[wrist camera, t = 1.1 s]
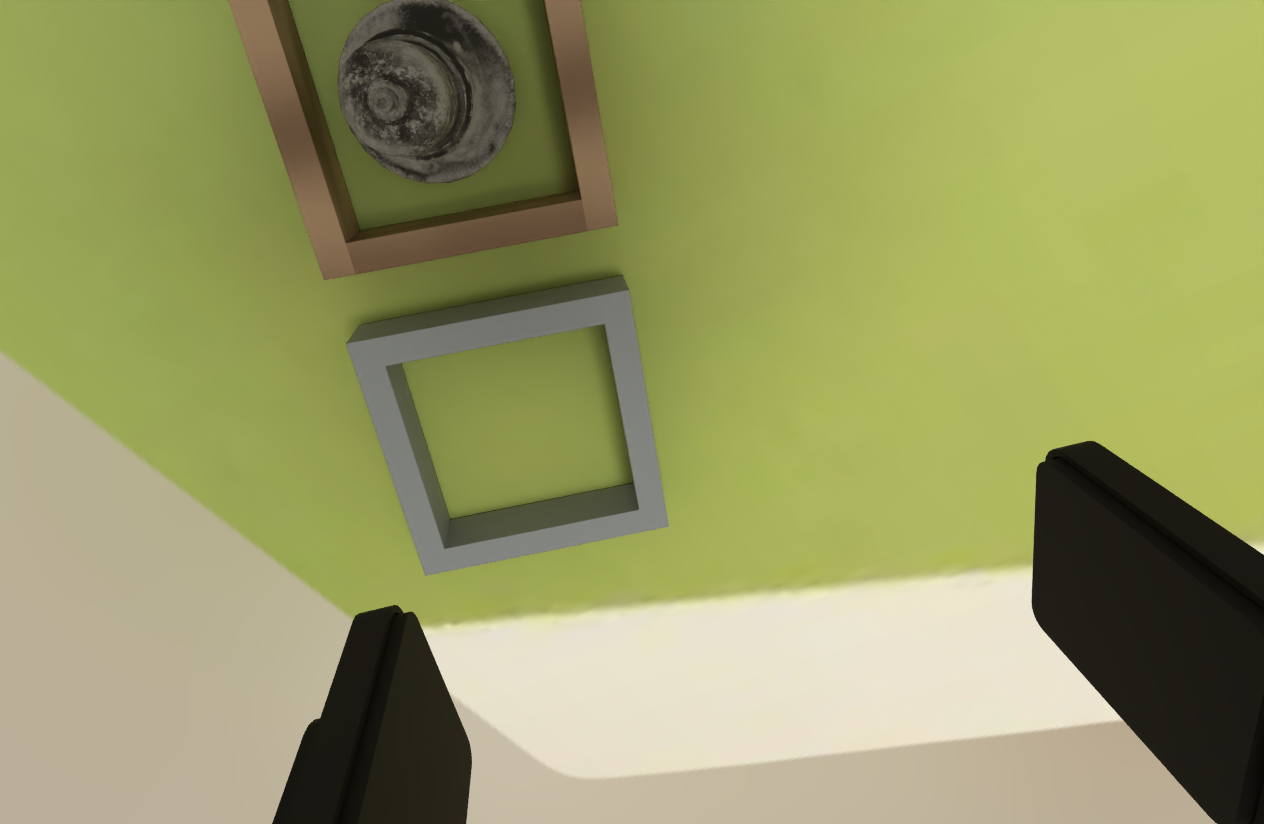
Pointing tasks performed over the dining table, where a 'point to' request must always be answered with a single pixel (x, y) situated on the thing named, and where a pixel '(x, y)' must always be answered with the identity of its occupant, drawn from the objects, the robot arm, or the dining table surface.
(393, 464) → the grey holder
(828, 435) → the dining table surface
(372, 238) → the walnut holder
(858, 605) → the dining table surface
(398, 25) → the dark grey turned piece
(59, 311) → the dining table surface
